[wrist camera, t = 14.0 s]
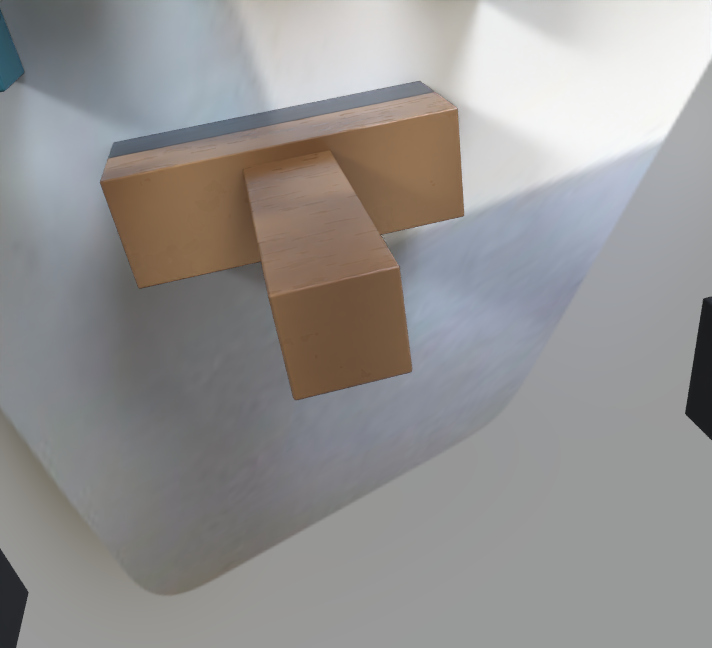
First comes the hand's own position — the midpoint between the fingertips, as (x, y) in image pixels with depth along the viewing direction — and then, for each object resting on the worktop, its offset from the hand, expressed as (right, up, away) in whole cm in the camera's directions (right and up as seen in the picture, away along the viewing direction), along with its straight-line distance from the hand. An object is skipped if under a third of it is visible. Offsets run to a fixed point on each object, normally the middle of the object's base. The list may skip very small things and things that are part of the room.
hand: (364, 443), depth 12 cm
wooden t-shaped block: (-3, +9, +15) cm, 18 cm away
